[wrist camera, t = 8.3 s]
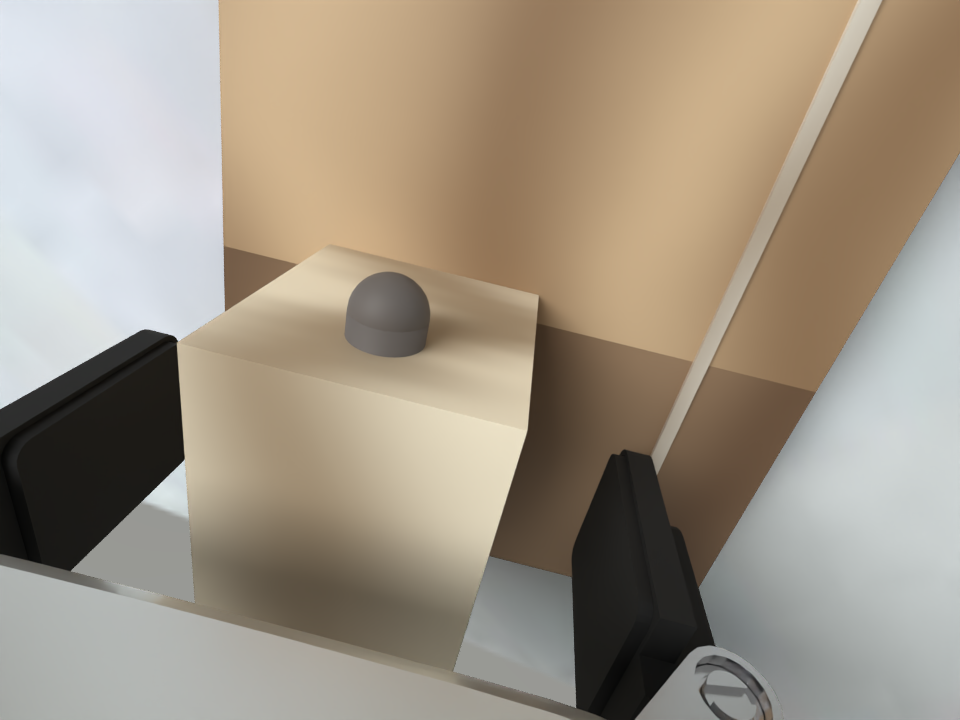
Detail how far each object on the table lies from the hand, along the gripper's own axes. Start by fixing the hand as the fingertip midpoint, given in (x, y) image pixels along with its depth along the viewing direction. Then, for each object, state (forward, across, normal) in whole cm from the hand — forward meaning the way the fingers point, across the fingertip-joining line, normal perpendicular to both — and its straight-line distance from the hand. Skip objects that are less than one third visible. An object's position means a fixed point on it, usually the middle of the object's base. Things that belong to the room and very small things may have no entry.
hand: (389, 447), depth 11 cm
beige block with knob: (+2, 0, 0) cm, 2 cm away
